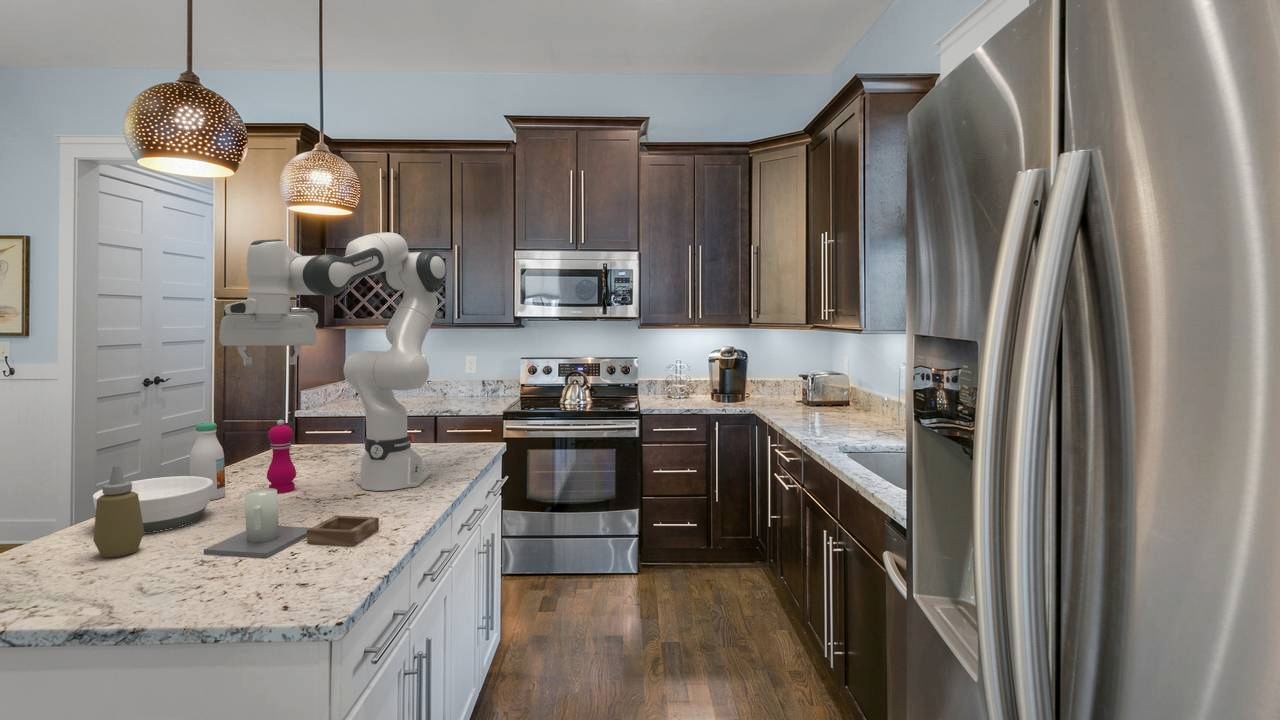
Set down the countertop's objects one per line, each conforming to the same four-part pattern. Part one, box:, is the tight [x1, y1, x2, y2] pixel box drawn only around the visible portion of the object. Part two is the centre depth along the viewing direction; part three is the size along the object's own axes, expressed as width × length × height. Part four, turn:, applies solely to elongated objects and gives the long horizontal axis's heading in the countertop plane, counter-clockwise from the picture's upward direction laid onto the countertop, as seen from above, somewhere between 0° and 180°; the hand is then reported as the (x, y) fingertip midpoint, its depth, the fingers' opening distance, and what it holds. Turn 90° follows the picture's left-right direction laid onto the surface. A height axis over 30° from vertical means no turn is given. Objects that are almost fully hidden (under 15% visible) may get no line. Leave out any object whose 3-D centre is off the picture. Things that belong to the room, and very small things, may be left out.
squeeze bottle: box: [93, 465, 145, 558], centre depth 130 cm, size 8×8×18 cm
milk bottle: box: [189, 422, 226, 501], centre depth 170 cm, size 8×8×20 cm
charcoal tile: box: [203, 525, 312, 559], centre depth 137 cm, size 16×14×1 cm
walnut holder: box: [306, 515, 380, 547], centre depth 141 cm, size 10×10×3 cm
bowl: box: [92, 475, 213, 533], centre depth 150 cm, size 22×22×8 cm
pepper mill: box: [266, 419, 297, 494], centre depth 178 cm, size 7×7×20 cm
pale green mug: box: [244, 487, 280, 543], centre depth 136 cm, size 8×6×10 cm
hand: (270, 364), depth 153 cm, fingers open, 8 cm apart
